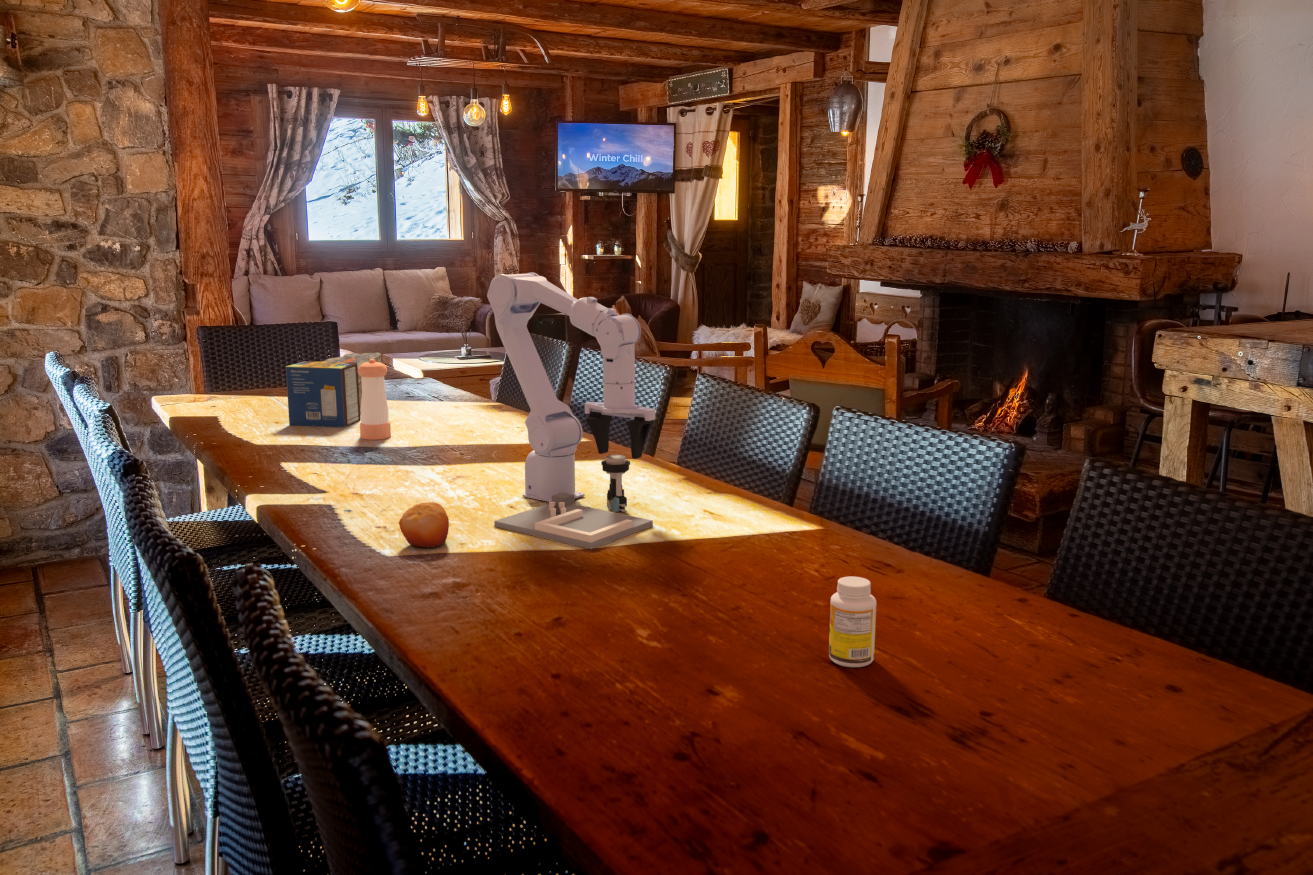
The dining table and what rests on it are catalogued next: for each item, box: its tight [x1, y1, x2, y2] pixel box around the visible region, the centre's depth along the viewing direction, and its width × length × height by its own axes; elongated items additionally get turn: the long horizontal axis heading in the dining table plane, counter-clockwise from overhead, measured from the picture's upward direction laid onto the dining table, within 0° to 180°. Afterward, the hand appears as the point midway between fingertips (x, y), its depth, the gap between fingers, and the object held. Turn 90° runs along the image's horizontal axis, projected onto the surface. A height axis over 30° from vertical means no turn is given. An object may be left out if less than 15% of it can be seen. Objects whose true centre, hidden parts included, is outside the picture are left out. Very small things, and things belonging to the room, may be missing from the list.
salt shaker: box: [358, 359, 392, 441], centre depth 265 cm, size 7×7×19 cm
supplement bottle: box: [828, 575, 877, 668], centre depth 133 cm, size 6×6×10 cm
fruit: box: [398, 501, 450, 549], centre depth 180 cm, size 8×8×8 cm
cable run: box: [548, 493, 576, 517], centre depth 198 cm, size 4×11×2 cm, turn 175°
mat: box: [493, 503, 654, 550], centre depth 191 cm, size 22×17×1 cm
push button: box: [600, 454, 631, 513], centre depth 201 cm, size 7×5×10 cm
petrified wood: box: [321, 352, 383, 409], centre depth 308 cm, size 19×17×15 cm
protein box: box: [285, 360, 361, 428], centre depth 283 cm, size 10×15×16 cm
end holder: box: [535, 509, 632, 543], centre depth 186 cm, size 12×11×1 cm
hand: (619, 455), depth 199 cm, fingers open, 7 cm apart
